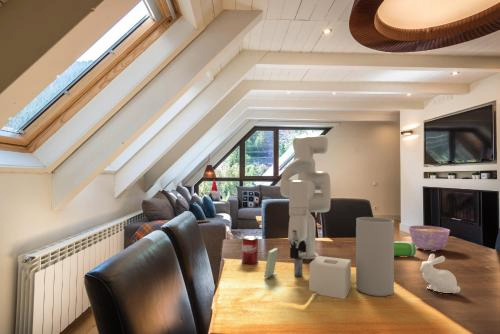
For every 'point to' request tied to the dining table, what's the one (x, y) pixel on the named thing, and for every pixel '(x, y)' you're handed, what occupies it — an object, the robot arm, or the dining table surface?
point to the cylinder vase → (375, 256)
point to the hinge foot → (271, 276)
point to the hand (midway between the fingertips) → (298, 255)
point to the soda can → (249, 250)
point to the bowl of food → (429, 237)
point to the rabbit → (439, 276)
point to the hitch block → (330, 276)
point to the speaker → (404, 248)
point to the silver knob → (299, 264)
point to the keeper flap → (271, 262)
